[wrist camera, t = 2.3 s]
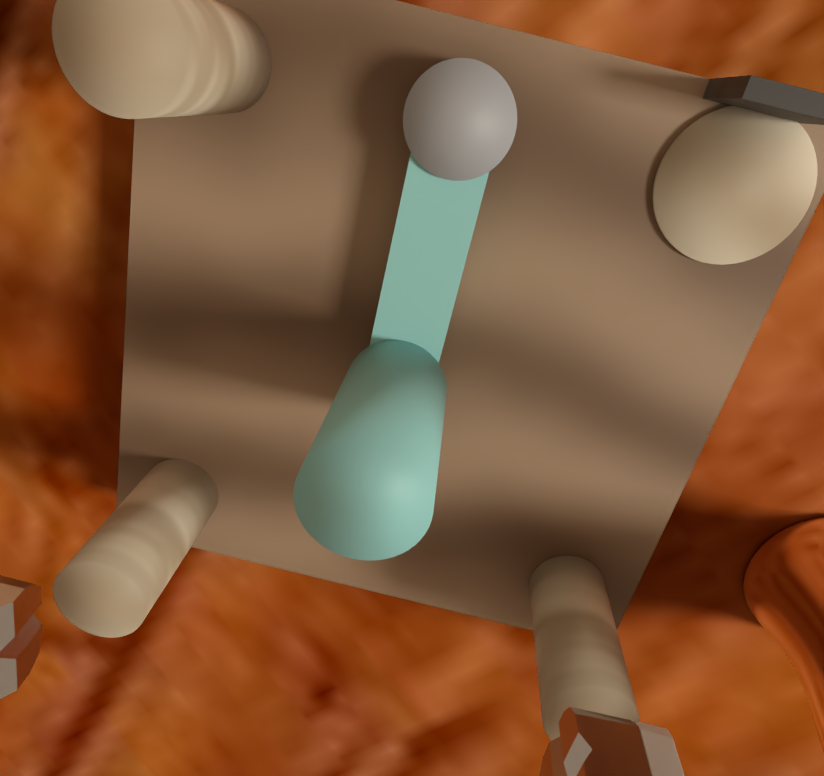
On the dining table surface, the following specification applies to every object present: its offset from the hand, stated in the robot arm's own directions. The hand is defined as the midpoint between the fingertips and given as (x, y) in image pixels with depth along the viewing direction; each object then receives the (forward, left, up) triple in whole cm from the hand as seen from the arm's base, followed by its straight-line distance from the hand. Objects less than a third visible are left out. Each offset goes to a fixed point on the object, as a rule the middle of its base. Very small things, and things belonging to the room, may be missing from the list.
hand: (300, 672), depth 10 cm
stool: (0, -1, -16) cm, 16 cm away
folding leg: (+4, 0, -13) cm, 13 cm away
